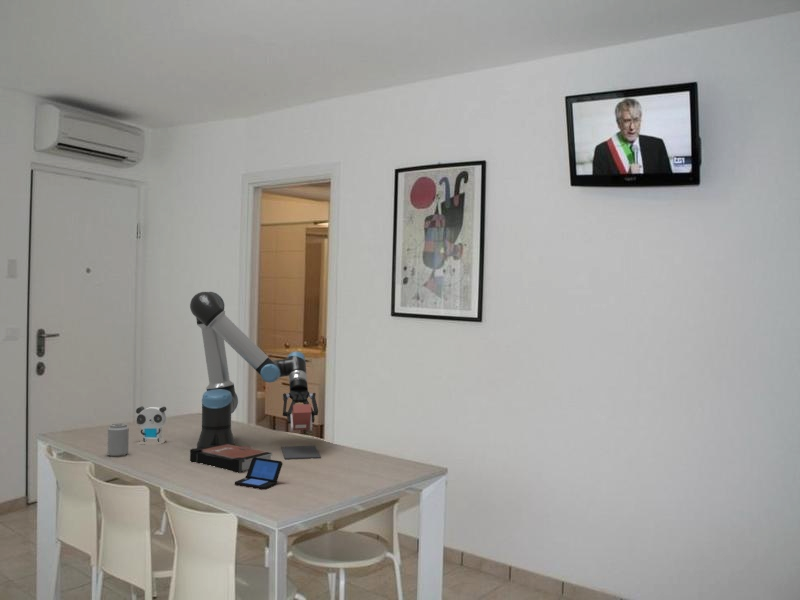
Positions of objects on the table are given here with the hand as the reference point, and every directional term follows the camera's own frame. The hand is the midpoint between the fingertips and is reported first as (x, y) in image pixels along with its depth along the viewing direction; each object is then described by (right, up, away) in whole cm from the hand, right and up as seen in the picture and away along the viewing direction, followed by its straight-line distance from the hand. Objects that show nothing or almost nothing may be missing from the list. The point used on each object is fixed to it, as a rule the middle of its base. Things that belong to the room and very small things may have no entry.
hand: (301, 429), depth 271 cm
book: (-24, -10, -16) cm, 31 cm away
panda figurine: (-66, -9, +15) cm, 68 cm away
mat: (-1, -10, +1) cm, 10 cm away
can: (-71, -9, -8) cm, 71 cm away
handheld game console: (-8, -10, -44) cm, 46 cm away
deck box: (0, +9, -2) cm, 9 cm away
